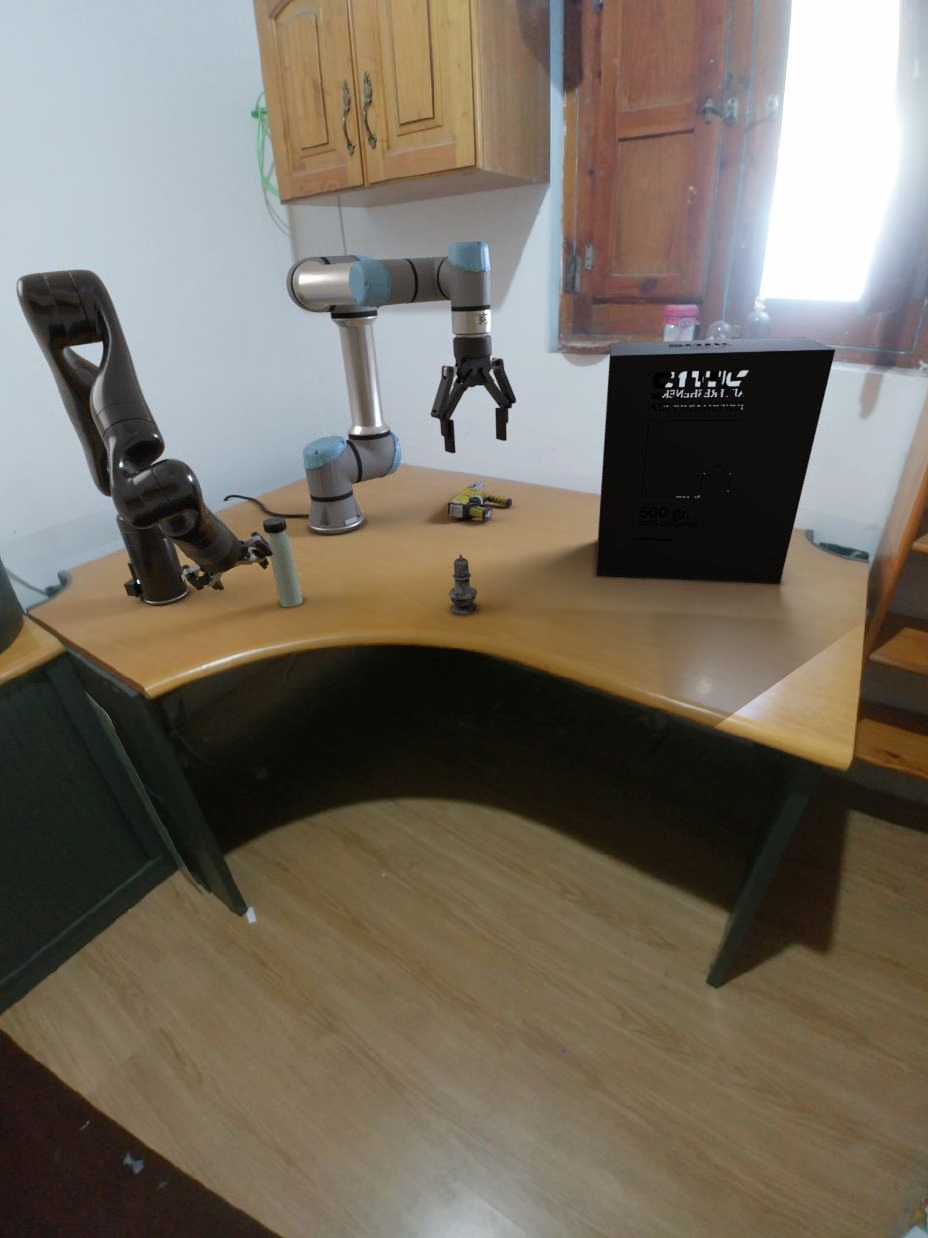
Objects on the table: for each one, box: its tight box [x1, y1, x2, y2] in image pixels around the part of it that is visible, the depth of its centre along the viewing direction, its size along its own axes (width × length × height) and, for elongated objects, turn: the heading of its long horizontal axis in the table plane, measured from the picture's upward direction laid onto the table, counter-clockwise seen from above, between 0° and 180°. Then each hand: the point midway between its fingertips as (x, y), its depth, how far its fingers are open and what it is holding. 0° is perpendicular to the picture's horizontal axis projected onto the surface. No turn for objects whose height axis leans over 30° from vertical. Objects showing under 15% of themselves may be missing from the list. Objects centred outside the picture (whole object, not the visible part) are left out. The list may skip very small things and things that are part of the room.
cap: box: [262, 516, 288, 534], centre depth 122 cm, size 4×4×2 cm
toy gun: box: [446, 480, 513, 523], centre depth 174 cm, size 5×24×15 cm
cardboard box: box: [595, 336, 836, 584], centre depth 127 cm, size 38×20×45 cm, turn 78°
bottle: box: [266, 530, 303, 608], centre depth 126 cm, size 5×5×18 cm
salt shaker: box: [448, 554, 478, 615], centre depth 121 cm, size 6×6×12 cm
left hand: (242, 575), depth 110 cm, fingers open, 8 cm apart
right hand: (476, 445), depth 127 cm, fingers open, 13 cm apart
